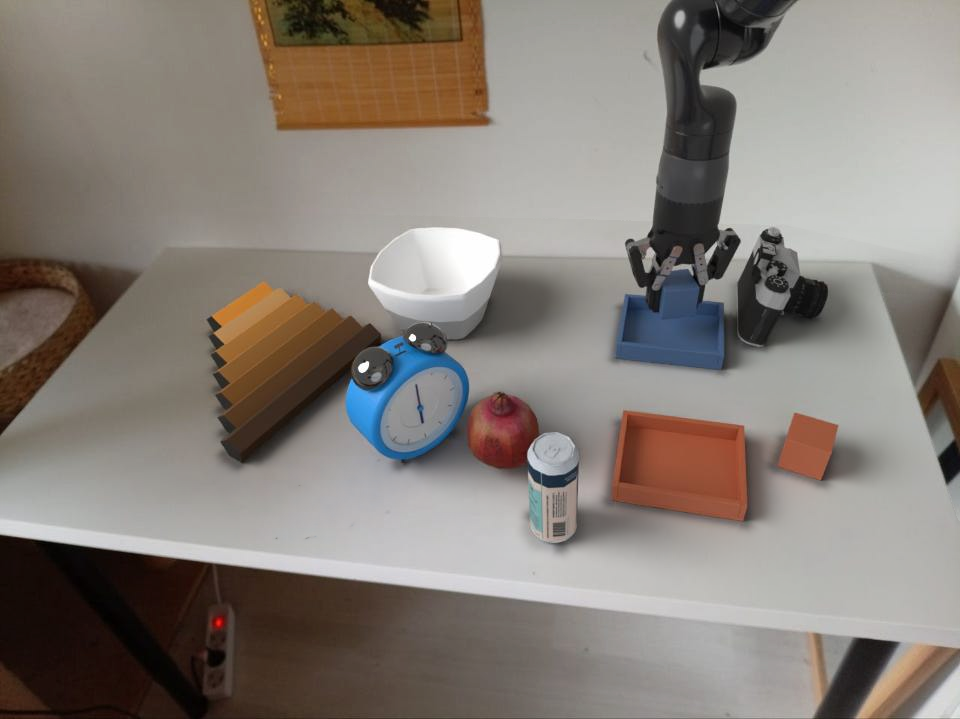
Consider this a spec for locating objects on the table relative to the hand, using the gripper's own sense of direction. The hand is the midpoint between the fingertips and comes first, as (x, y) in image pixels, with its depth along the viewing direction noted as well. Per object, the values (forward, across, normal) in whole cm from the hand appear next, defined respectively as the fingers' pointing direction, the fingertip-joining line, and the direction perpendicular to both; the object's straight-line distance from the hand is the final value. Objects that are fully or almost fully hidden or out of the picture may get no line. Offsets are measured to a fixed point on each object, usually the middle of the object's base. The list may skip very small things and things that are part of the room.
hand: (673, 306), depth 88 cm
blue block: (0, 0, 0) cm, 0 cm away
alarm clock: (+5, -34, -13) cm, 37 cm away
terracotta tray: (+5, -6, -22) cm, 24 cm away
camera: (+5, +16, +2) cm, 17 cm away
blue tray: (+5, 0, 0) cm, 5 cm away
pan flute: (+5, -56, +4) cm, 56 cm away
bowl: (+5, -30, +11) cm, 32 cm away
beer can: (+5, -21, -28) cm, 35 cm away
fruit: (+5, -24, -18) cm, 31 cm away
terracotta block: (+5, +8, -23) cm, 25 cm away
